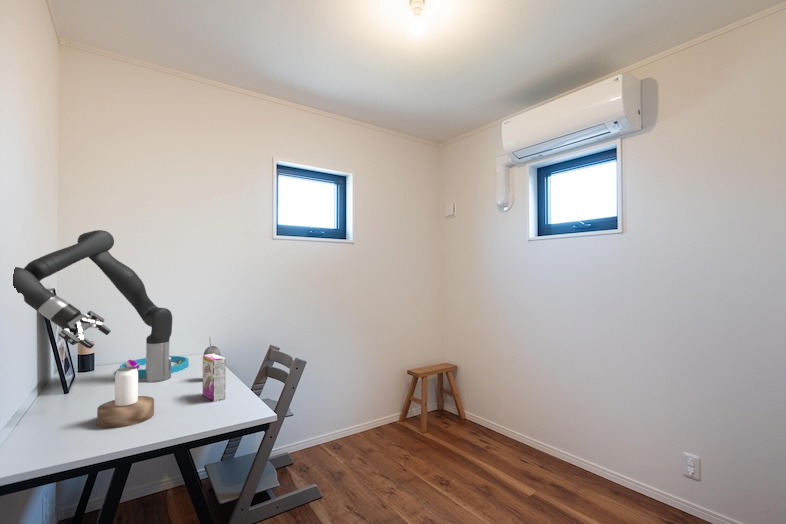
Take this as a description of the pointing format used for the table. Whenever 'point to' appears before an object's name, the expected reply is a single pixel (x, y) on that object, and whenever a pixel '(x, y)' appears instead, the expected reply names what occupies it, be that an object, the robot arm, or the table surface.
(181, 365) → the blue ring
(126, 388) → the can
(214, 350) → the beverage cup
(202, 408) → the table surface
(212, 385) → the candy bar box
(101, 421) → the tan rounded flat lump
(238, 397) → the table surface
